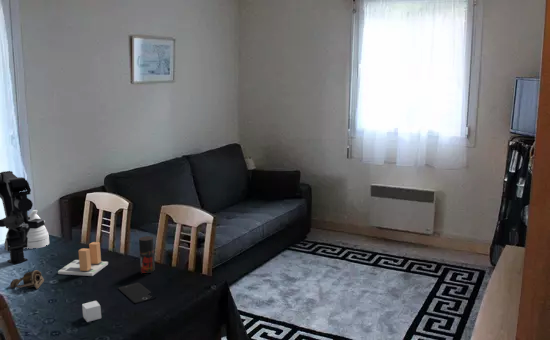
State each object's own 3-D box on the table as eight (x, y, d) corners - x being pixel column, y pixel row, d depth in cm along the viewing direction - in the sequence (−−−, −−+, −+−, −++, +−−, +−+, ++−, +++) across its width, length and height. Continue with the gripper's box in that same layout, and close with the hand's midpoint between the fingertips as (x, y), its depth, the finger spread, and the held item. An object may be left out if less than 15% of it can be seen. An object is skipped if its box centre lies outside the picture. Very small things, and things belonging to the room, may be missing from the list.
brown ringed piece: (26, 282, 212) (46, 268, 220) (3, 273, 217) (24, 260, 225) (30, 296, 215) (49, 282, 223) (7, 288, 220) (27, 275, 228)
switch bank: (58, 273, 234) (57, 270, 233) (75, 262, 247) (75, 259, 247) (92, 276, 231) (92, 273, 231) (108, 264, 244) (107, 261, 244)
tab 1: (80, 270, 233) (78, 250, 231) (83, 268, 236) (82, 248, 234) (87, 271, 232) (85, 251, 230) (91, 268, 235) (89, 248, 233)
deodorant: (138, 272, 234) (135, 239, 231) (147, 268, 239) (145, 235, 236) (148, 275, 231) (146, 241, 228) (157, 270, 236) (155, 237, 234)
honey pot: (54, 243, 274) (51, 208, 271) (31, 250, 264) (28, 214, 260) (39, 239, 281) (35, 205, 278) (16, 246, 270) (12, 211, 267)
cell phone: (135, 305, 203) (135, 302, 203) (117, 289, 218) (117, 287, 217) (157, 298, 208) (157, 296, 208) (138, 284, 223) (138, 282, 222)
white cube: (97, 313, 196) (96, 300, 195) (101, 318, 192) (100, 305, 191) (83, 317, 193) (82, 304, 192) (87, 322, 189) (86, 309, 188)
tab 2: (90, 263, 241) (89, 244, 239) (93, 261, 244) (92, 242, 242) (97, 263, 240) (96, 244, 239) (101, 261, 243) (99, 242, 242)
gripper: (-13, 211, 227) (-9, 246, 230) (27, 212, 223) (31, 249, 226) (4, 204, 237) (8, 238, 240) (43, 206, 234) (46, 240, 237)
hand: (23, 241), depth 236 cm, fingers closed
